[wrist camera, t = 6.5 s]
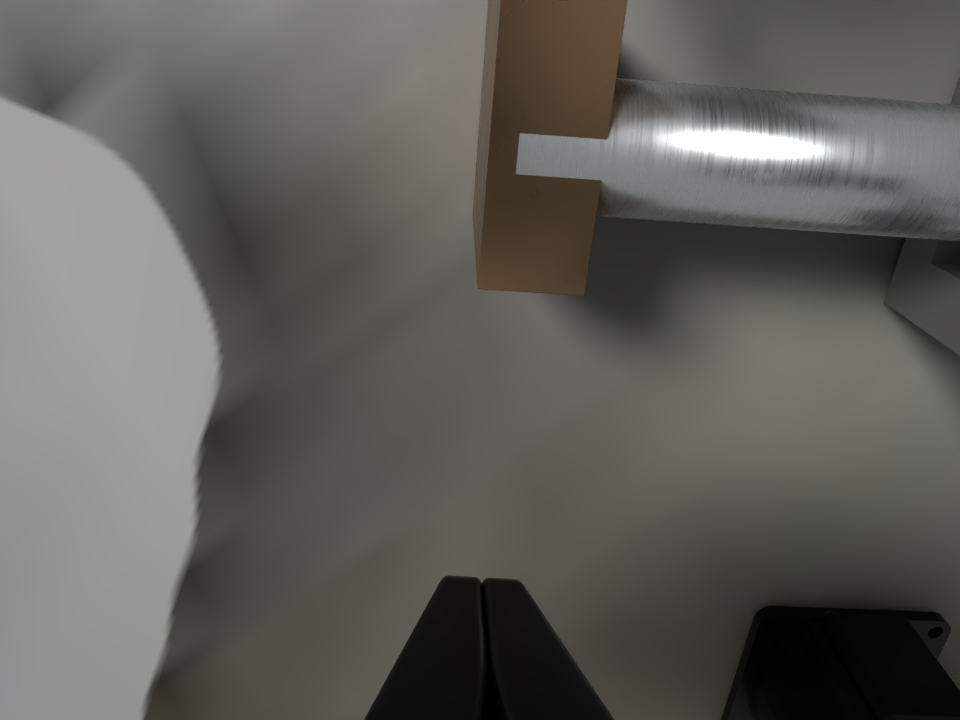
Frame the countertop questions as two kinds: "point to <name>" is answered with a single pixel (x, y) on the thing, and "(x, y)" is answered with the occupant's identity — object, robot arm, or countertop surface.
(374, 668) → the countertop surface
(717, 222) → the metal shaft
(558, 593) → the countertop surface
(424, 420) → the countertop surface
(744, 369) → the countertop surface
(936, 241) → the collar
